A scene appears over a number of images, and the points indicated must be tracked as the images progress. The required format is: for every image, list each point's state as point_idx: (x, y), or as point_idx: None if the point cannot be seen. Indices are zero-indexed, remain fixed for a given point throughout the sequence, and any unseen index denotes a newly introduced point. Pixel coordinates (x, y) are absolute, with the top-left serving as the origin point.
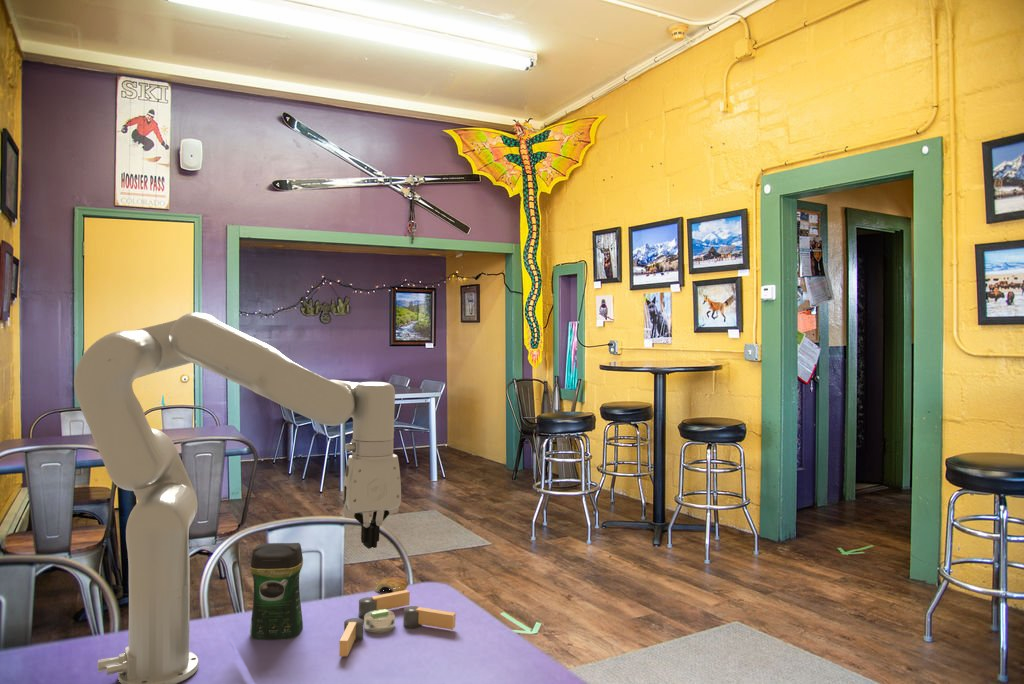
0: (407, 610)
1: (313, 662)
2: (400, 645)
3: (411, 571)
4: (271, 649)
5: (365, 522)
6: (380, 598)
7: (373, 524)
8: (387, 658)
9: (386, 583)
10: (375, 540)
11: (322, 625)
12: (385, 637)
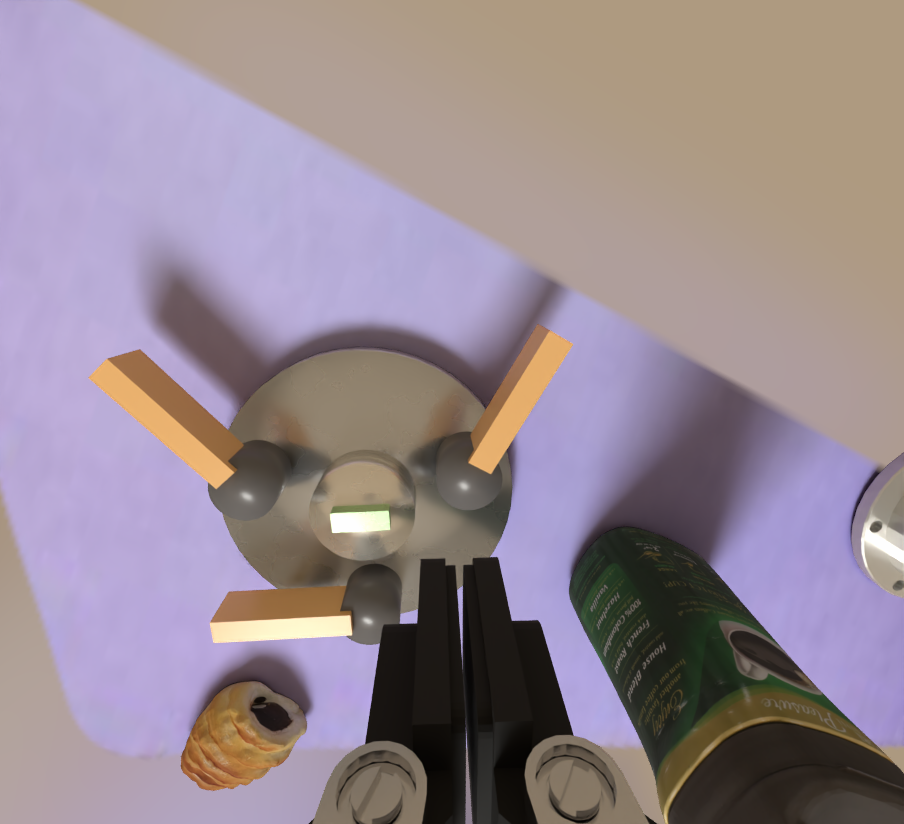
0: (263, 490)
1: (600, 399)
2: None
3: None
4: (669, 523)
5: (611, 813)
6: (325, 614)
7: (452, 791)
8: (399, 322)
9: (259, 738)
10: (435, 597)
11: None
12: None
